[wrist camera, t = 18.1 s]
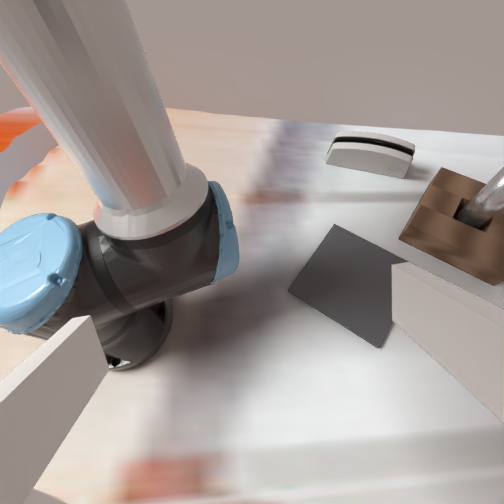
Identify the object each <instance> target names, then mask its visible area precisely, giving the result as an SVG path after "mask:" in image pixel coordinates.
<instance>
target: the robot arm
mask: <svg viewBox="0 0 504 504" xmlns="http://www.w3.org/2000/svg"><path fill="white" fill-rule="evenodd" d="M0 63H1V65H2V66H3V68H4V69H5V70H6V72H7V73H8V75H9V76H10V77H11V79H12V80H13V81H14V83H15V84H16V85H17V87H18V88H19V90H20V91H21V93H22V94H23V95H24V97H25V98H26V99H27V101H28V102H29V104H30V105H31V106H32V108H33V109H34V111H35V112H36V113H37V115H38V116H39V117H40V119H41V120H42V122H43V123H44V124H45V126H46V127H47V129H48V130H49V131H50V133H51V134H52V136H53V137H54V138H55V140H56V141H57V142H58V144H59V145H60V147H61V148H62V149H63V151H64V152H65V154H66V155H67V156H68V158H69V159H70V160H71V162H72V163H73V165H74V166H75V167H76V169H77V170H78V172H79V173H80V174H81V176H82V177H83V179H84V180H85V181H86V183H87V184H88V185H89V187H90V188H91V190H92V191H93V192H94V194H95V195H96V197H97V198H98V199H97V201H96V204H95V207H94V211H93V218H94V220H93V221H90V222H87V223H84V224H81V225H76V224H75V223H74V222H73V221H72V220H71V219H69V218H66V217H63V216H57V215H56V214H53V213H41V214H35V215H32V216H29V217H26V218H23V219H21V220H19V221H17V222H15V223H14V224H12V225H11V226H9V227H8V228H6V229H5V230H4V231H2V232H1V233H0V327H1V328H4V329H6V330H7V331H8V332H10V333H13V334H19V335H20V334H24V335H28V336H32V337H36V338H39V339H43V340H47V341H46V342H45V343H44V344H43V345H41V346H40V347H39V348H38V349H37V350H36V351H35V352H34V353H32V354H31V355H30V356H29V357H28V358H27V359H26V360H25V361H23V362H22V363H21V364H20V365H19V366H18V367H17V368H15V369H14V370H13V371H12V372H11V373H10V374H9V375H8V376H6V377H5V378H4V379H3V380H2V381H1V382H0V504H23V503H24V501H25V499H26V498H27V496H28V495H29V493H30V492H31V490H32V489H33V487H34V486H35V484H36V483H37V481H38V479H39V478H40V476H41V475H42V473H43V472H44V470H45V469H46V467H47V465H48V464H49V462H50V461H51V459H52V458H53V456H54V455H55V453H56V451H57V450H58V448H59V447H60V445H61V444H62V442H63V441H64V439H65V437H66V436H67V434H68V433H69V431H70V430H71V428H72V427H73V425H74V423H75V422H76V420H77V419H78V417H79V416H80V414H81V413H82V411H83V409H84V408H85V406H86V405H87V403H88V402H89V400H90V398H91V397H92V395H93V394H94V392H95V391H96V389H97V388H98V386H99V384H100V383H101V381H102V380H103V378H104V377H105V375H106V374H107V372H108V370H111V371H121V370H127V369H130V368H133V367H136V366H138V365H140V364H142V363H143V362H145V361H146V360H148V359H149V358H150V357H151V356H152V355H153V354H154V353H155V352H156V351H157V350H158V349H159V348H160V347H161V345H162V344H163V342H164V340H165V339H166V337H167V334H168V332H169V329H170V325H171V320H172V310H171V305H170V301H169V299H172V298H174V297H177V296H180V295H183V294H185V293H188V292H191V291H194V290H196V289H199V288H202V287H205V286H207V285H212V284H214V283H215V282H216V281H217V280H220V279H222V278H224V277H226V276H229V275H231V274H232V273H233V272H234V271H235V270H236V269H237V267H238V264H239V244H238V237H237V232H236V228H235V226H234V224H233V217H232V212H231V208H230V205H229V202H228V200H227V197H226V195H225V193H224V191H223V189H222V187H221V185H220V184H219V183H218V182H216V181H207V179H206V177H205V175H204V173H203V172H202V171H201V170H200V169H198V168H197V167H195V166H193V165H190V164H188V163H185V162H184V159H183V156H182V154H181V151H180V148H179V145H178V143H177V140H176V137H175V135H174V132H173V129H172V126H171V124H170V121H169V118H168V115H167V113H166V110H165V107H164V104H163V102H162V99H161V96H160V93H159V91H158V88H157V85H156V82H155V80H154V77H153V74H152V72H151V69H150V66H149V63H148V60H147V58H146V55H145V52H144V50H143V47H142V44H141V41H140V39H139V36H138V33H137V30H136V28H135V25H134V22H133V19H132V17H131V14H130V11H129V9H128V6H127V3H126V0H0ZM392 321H393V322H394V323H395V324H396V325H398V326H399V327H400V328H401V329H402V330H403V331H404V332H405V333H406V334H407V335H408V336H409V337H411V338H412V339H413V340H414V341H415V342H416V343H417V344H418V345H419V346H420V347H421V348H423V349H424V350H425V351H426V352H427V353H428V354H429V355H430V356H431V357H432V358H433V359H434V360H436V361H437V362H438V363H439V364H440V365H441V366H442V367H443V368H444V369H445V370H446V371H448V372H449V373H450V374H451V375H452V376H453V377H454V378H455V379H456V380H457V381H458V382H459V383H461V384H462V385H463V386H464V387H465V388H466V389H467V390H468V391H469V392H470V393H471V394H472V395H474V396H475V397H476V398H477V399H478V400H479V401H480V402H481V403H482V404H483V405H484V406H486V407H487V408H488V409H489V410H490V411H491V412H492V413H493V414H494V415H495V416H496V417H497V418H499V419H500V420H501V421H502V422H503V423H504V309H502V308H500V307H498V306H496V305H494V304H492V303H490V302H488V301H486V300H484V299H482V298H480V297H478V296H476V295H474V294H472V293H470V292H468V291H466V290H464V289H462V288H460V287H458V286H456V285H454V284H452V283H450V282H448V281H446V280H444V279H442V278H440V277H438V276H436V275H434V274H432V273H430V272H428V271H426V270H424V269H422V268H420V267H418V266H416V265H414V264H412V263H410V262H405V263H399V264H393V265H392Z"/></svg>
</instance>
